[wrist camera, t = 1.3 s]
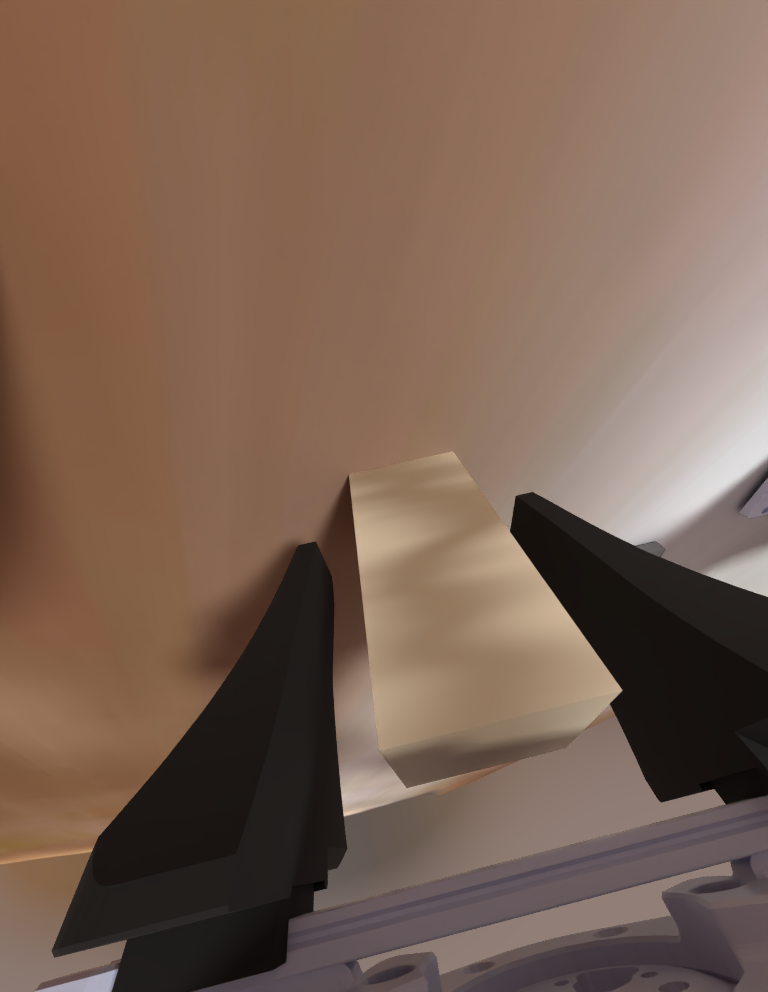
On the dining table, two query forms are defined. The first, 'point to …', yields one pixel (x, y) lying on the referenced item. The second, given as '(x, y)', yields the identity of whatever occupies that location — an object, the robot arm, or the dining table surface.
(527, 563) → the beige block
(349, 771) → the dining table surface
